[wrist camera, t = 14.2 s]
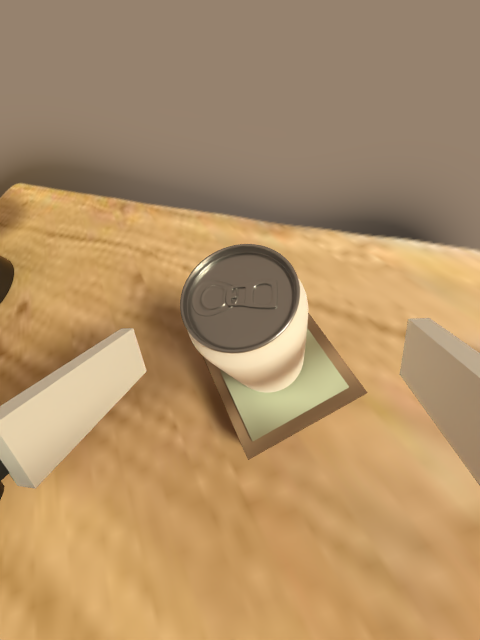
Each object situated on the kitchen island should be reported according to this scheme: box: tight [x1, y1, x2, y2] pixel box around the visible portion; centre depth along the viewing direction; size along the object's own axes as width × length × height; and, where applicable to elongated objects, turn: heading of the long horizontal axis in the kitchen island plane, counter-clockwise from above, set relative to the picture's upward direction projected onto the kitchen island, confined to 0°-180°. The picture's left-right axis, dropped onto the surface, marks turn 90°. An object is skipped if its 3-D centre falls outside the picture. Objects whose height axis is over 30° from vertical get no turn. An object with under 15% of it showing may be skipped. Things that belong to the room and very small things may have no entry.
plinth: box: [203, 313, 367, 460], centre depth 24 cm, size 13×11×5 cm
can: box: [180, 244, 308, 393], centre depth 16 cm, size 6×6×12 cm
